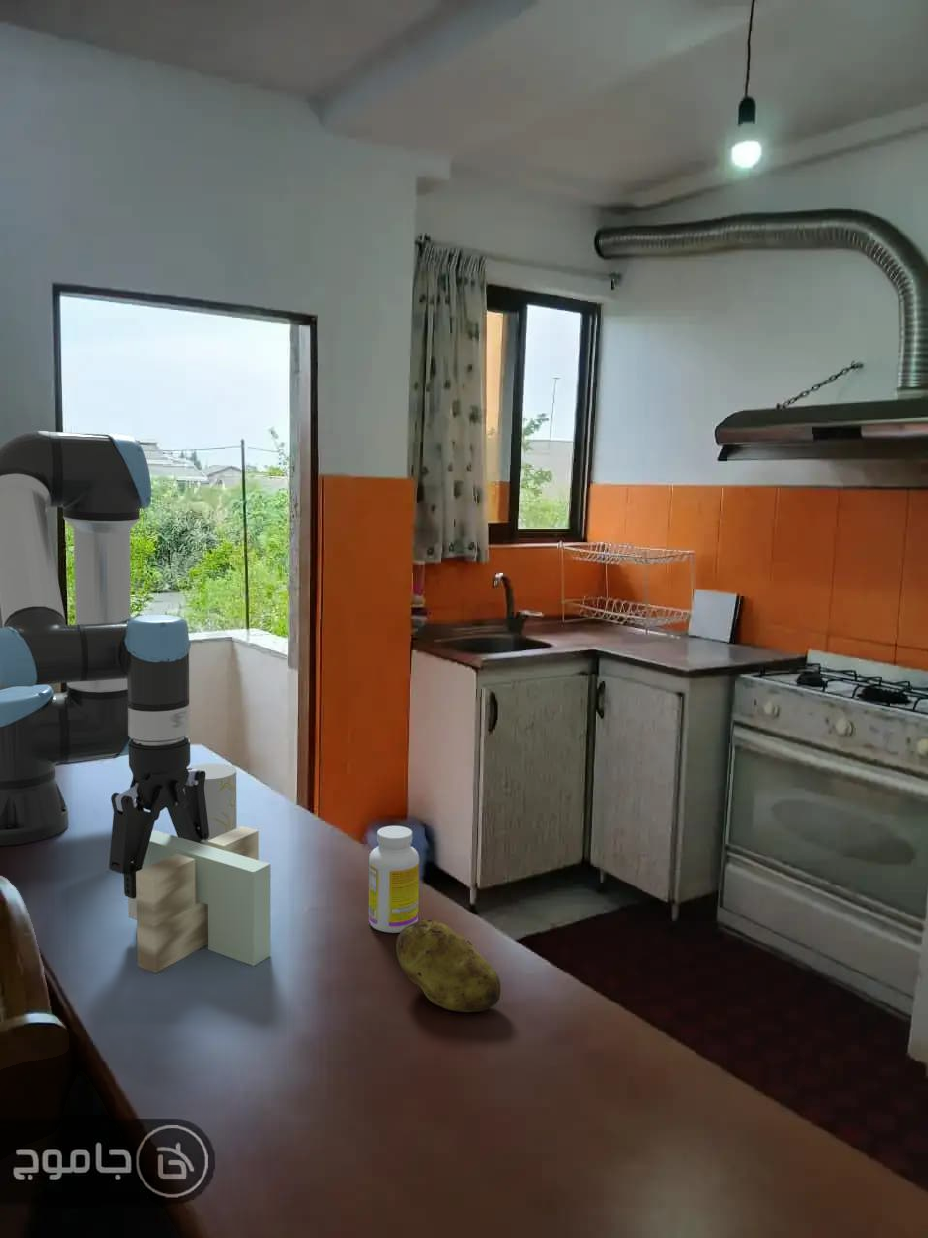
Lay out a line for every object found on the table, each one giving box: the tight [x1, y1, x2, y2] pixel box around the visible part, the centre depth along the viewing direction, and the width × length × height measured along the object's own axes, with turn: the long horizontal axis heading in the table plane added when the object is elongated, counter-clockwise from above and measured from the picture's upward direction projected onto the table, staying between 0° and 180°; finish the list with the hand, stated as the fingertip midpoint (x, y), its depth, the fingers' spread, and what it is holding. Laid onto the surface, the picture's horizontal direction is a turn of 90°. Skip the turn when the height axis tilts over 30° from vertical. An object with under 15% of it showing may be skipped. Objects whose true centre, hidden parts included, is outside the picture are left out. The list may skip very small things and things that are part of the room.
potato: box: [396, 918, 501, 1013], centre depth 107 cm, size 8×13×8 cm, turn 38°
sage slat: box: [142, 829, 271, 967], centre depth 119 cm, size 20×3×12 cm, turn 61°
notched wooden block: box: [136, 825, 260, 974], centre depth 119 cm, size 18×3×12 cm, turn 151°
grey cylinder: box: [183, 763, 238, 845], centre depth 150 cm, size 8×8×12 cm
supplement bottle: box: [368, 825, 420, 934], centre depth 125 cm, size 7×7×13 cm
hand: (162, 906), depth 123 cm, fingers open, 7 cm apart
